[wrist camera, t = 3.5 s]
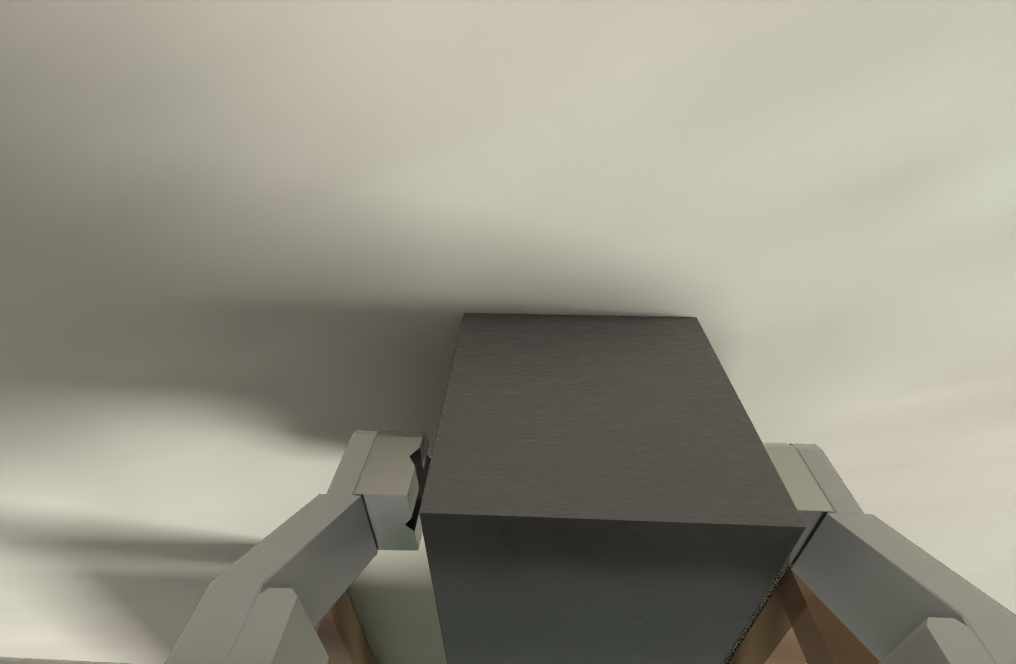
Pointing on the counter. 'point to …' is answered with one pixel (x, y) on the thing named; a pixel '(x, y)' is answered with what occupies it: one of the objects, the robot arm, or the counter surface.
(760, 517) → the iron block
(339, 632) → the frame
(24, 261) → the counter surface
